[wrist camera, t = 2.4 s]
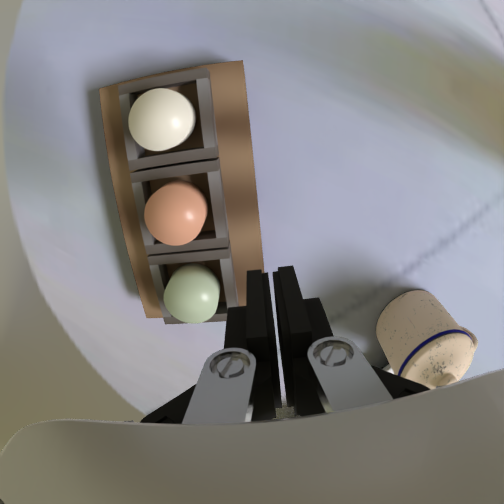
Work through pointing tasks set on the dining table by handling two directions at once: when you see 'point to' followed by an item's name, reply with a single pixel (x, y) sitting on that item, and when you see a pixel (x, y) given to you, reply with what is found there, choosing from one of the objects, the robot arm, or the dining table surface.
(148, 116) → the cream button
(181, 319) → the sage button
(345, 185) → the dining table surface
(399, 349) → the teacup with lid
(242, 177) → the button console
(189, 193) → the terracotta button
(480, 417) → the robot arm
